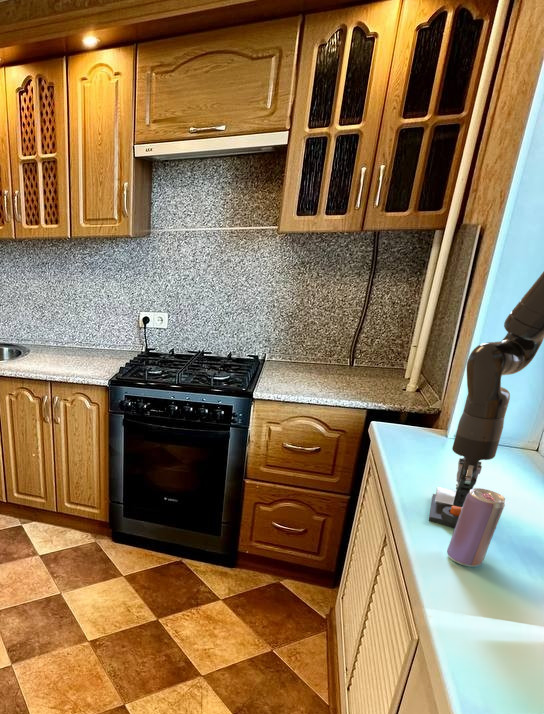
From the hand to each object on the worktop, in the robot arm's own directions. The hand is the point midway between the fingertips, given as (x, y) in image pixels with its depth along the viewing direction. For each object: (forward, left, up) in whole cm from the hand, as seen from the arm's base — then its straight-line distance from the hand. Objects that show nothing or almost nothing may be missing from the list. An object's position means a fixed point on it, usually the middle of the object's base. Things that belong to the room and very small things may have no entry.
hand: (458, 505), depth 119 cm
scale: (-3, -4, -5) cm, 7 cm away
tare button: (0, 0, -2) cm, 2 cm away
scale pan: (-4, -6, -2) cm, 8 cm away
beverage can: (+6, +15, -5) cm, 17 cm away
